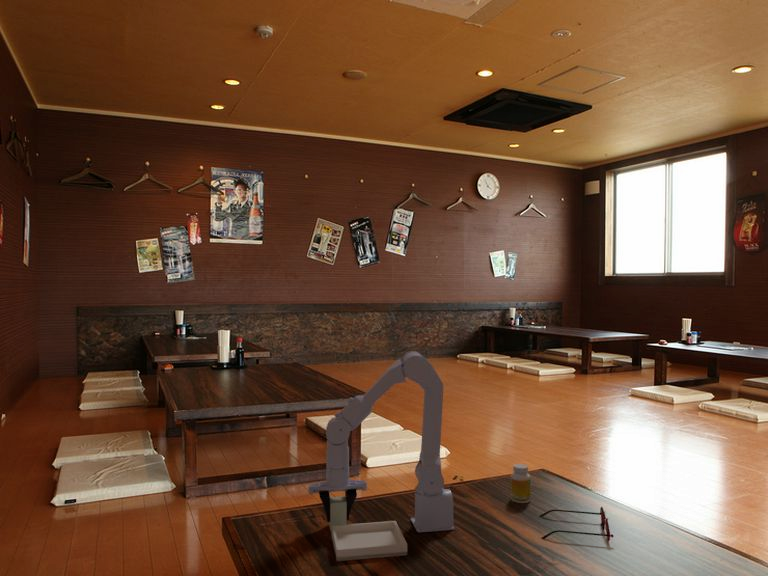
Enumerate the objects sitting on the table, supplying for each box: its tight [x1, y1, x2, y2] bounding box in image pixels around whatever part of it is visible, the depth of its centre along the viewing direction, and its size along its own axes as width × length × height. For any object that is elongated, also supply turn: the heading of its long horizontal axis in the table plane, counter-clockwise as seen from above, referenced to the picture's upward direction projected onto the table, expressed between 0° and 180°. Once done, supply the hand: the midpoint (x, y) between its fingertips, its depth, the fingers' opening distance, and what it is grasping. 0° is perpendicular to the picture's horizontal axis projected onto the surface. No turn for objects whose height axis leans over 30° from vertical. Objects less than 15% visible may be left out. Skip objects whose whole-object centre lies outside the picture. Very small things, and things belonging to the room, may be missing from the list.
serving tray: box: [330, 520, 408, 562], centre depth 136 cm, size 16×13×2 cm
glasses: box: [538, 506, 614, 542], centre depth 145 cm, size 14×16×5 cm
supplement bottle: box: [510, 463, 531, 504], centre depth 164 cm, size 5×5×10 cm
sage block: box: [328, 495, 348, 532], centre depth 146 cm, size 4×4×7 cm
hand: (337, 519), depth 146 cm, fingers closed on sage block, 4 cm apart
